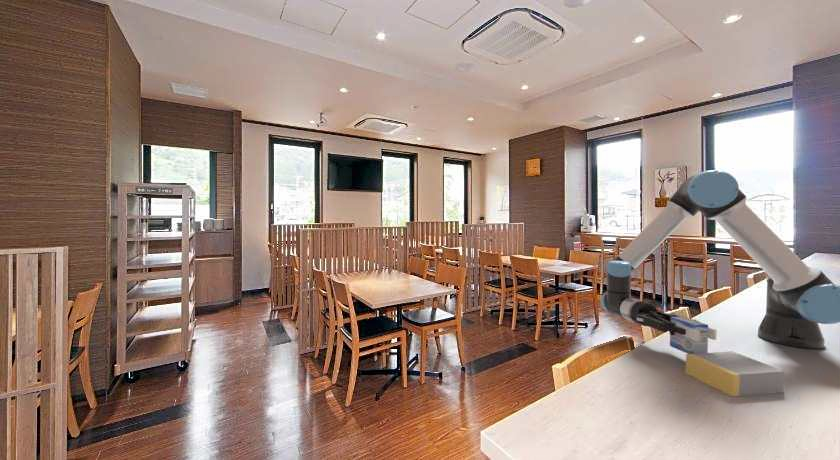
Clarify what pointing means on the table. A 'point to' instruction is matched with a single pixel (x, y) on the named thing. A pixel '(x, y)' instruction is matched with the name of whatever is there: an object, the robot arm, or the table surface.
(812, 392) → the table surface
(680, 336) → the medicine box
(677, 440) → the table surface
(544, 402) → the table surface
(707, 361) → the block
